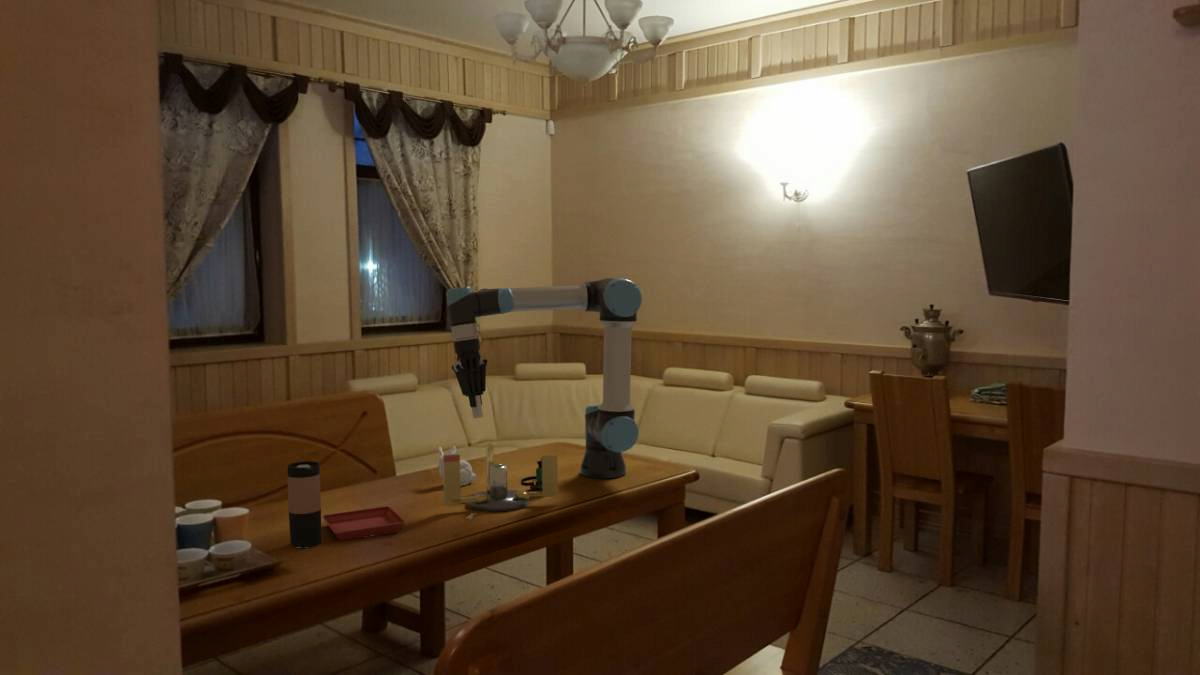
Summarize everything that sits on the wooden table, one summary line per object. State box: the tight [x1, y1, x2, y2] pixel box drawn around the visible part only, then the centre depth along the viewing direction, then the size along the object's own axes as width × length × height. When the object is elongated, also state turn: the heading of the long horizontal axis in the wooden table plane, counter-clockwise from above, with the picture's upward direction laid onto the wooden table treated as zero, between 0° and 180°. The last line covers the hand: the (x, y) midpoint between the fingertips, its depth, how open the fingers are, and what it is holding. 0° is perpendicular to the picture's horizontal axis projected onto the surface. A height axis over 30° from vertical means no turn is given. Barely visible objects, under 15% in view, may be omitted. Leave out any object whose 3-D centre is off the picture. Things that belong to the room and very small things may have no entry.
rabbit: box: [437, 445, 477, 487], centre depth 277 cm, size 12×9×12 cm
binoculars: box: [520, 457, 542, 492], centre depth 265 cm, size 9×11×10 cm
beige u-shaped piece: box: [442, 453, 488, 506], centre depth 246 cm, size 12×4×14 cm, turn 109°
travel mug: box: [287, 460, 322, 549], centre depth 216 cm, size 8×8×20 cm
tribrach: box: [466, 443, 559, 520], centre depth 250 cm, size 27×32×14 cm
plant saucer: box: [321, 505, 406, 541], centre depth 229 cm, size 18×18×3 cm
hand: (478, 417), depth 260 cm, fingers closed
